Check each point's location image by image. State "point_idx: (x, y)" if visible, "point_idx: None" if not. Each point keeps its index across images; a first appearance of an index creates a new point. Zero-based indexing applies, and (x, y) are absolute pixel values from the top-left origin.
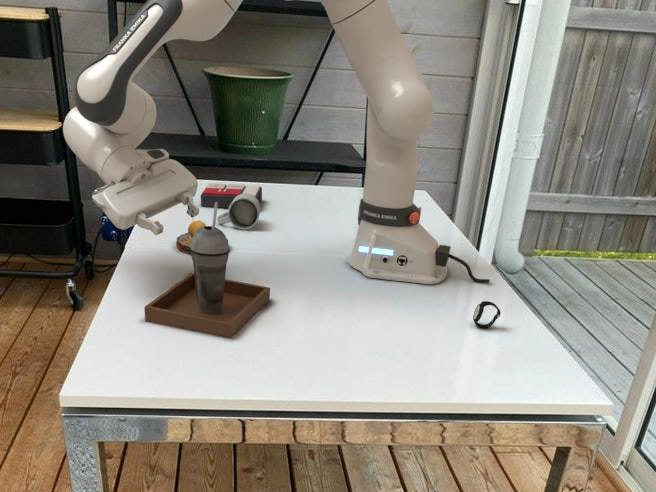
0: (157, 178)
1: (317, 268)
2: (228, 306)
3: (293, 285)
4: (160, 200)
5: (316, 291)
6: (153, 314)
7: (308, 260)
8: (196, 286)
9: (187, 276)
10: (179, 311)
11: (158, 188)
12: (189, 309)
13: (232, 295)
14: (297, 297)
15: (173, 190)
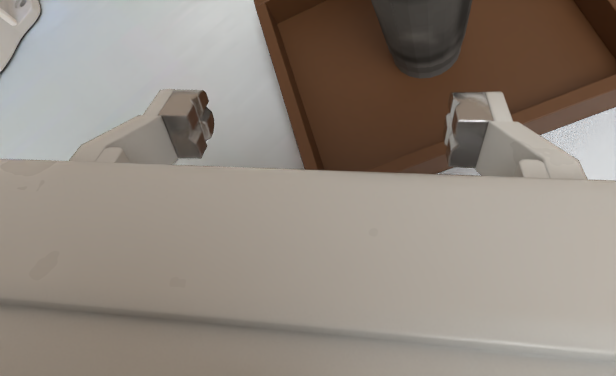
0: (71, 367)
1: (42, 106)
2: (373, 38)
3: (156, 63)
4: (322, 172)
5: (157, 14)
6: None
7: (8, 153)
8: (469, 7)
9: None
10: (510, 81)
11: (218, 251)
12: (474, 76)
13: (308, 85)
14: (209, 9)
15: (145, 179)
